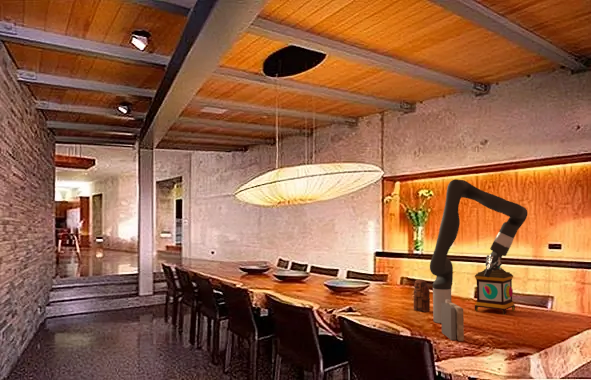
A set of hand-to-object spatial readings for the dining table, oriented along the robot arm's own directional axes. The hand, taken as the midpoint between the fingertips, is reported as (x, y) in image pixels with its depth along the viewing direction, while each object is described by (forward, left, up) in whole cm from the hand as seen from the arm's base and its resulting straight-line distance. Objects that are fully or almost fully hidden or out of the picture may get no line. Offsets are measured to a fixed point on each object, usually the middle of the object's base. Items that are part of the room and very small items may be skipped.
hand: (486, 276), depth 225 cm
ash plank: (+9, -18, -26) cm, 33 cm away
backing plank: (+6, -19, -26) cm, 33 cm away
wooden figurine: (-55, -17, -26) cm, 63 cm away
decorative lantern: (-54, +26, -26) cm, 66 cm away
